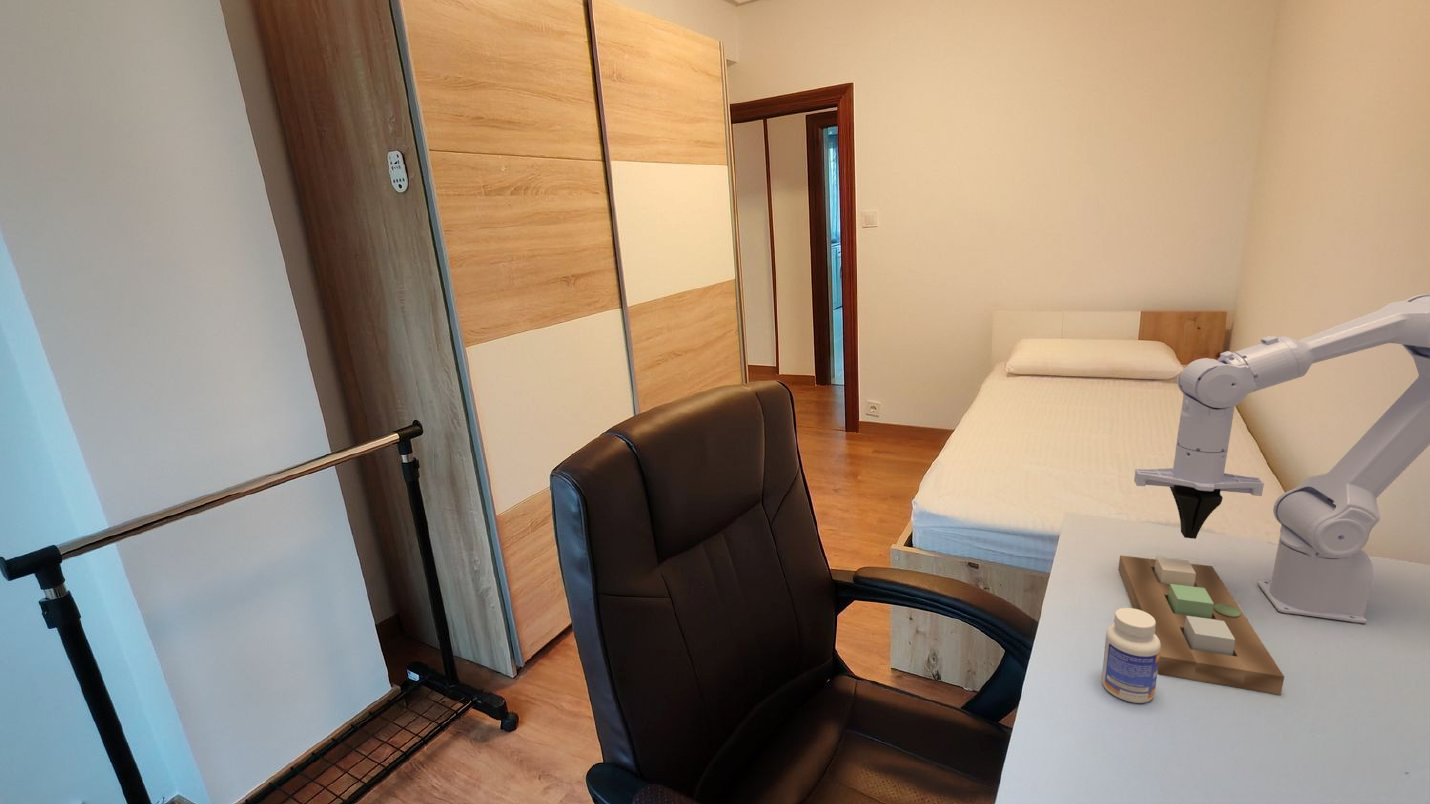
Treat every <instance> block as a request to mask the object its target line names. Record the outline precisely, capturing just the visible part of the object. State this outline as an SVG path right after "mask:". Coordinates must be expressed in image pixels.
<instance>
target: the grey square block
mask: <svg viewBox="0 0 1430 804" xmlns="http://www.w3.org/2000/svg"><path fill="white" fill-rule="evenodd" d="M1183 635H1184V637H1185V639H1186V641H1187V644H1188V646H1189V648H1190V649H1192V650H1199V651H1205V652H1211V653H1218V654H1224V655H1230V656H1232V655H1233V650H1234V644H1235V638H1234V637H1233V635H1232V633H1231V632H1230V630H1229V628H1228V627H1227V625H1226V623H1225V622H1224V621H1220V620H1213V619H1206V618H1199V617H1192V616H1186V620H1185V626H1184V633H1183Z"/></svg>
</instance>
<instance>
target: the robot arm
mask: <svg viewBox="0 0 1430 804" xmlns="http://www.w3.org/2000/svg"><path fill="white" fill-rule="evenodd" d="M1260 342H1261V343H1258V344H1255V345H1250V346H1248V347H1246V348H1242V349H1240V350H1236V351H1234V352H1232V351H1229V350H1227V351H1223V352H1220V353H1219V354H1220V355H1219V357H1218V358H1217V359H1215V358H1209V357H1202V358H1199V359H1195V360H1193V361H1191V362H1190V363H1188V364H1187V366H1186V367H1184V368H1183V370H1182V371H1181V373H1180V375H1177V376H1176V385H1177V387H1178V389H1179V390H1180V392H1181V393H1182V395H1183V396H1182V405H1181V411H1180V414H1179V415H1180V416H1179V423H1178V431H1177V439H1176V446H1175V455H1174V460H1173V461H1174V462H1173V466H1172V467H1173V468H1171V467H1170V468H1169V467H1168V468H1152V469H1150V468H1149V469H1145V468H1144V469H1143V468H1135V471H1134V479H1133V482H1134V483H1135V485H1136V486H1137V487H1145V486H1152V487H1153V486H1155V487H1167V488H1168V487H1169V488H1170V491H1171V493H1172V495H1173V498H1174V501H1175V504H1176V508H1177V511H1178V516H1179V520H1180V521H1179V522H1180V533H1181V534H1182V536H1183V538H1186V539H1193V540H1196V539H1197V537H1198V535H1199V533H1200V530H1201V528H1202V527H1203V525H1204V524H1205V522H1206V520H1207V519H1208V518H1209V516H1210V515H1211V514H1212V513H1213V512H1214V511H1215V510H1216V509H1217V508H1218V507H1219V506H1220V505H1222V501H1223V496H1222V495H1221V492H1230V493H1240V494H1242V493H1243V494H1251V496H1256V497H1262V496H1263V491H1264V487H1265V486H1264V485H1265V483H1264V482H1263V481H1262V480H1261V479H1260V478H1259V477H1254V476H1253V477H1251V476H1245V475H1243V476H1242V475H1238V474H1231V473H1226V472H1225V471H1226V470H1225V469H1226V463H1227V457H1228V449H1229V444H1230V439H1231V434H1232V433H1231V431H1232V427H1233V419H1234V412H1235V407H1236V406H1237V405H1239V404H1240V403H1241V402H1242V401H1243V400H1245V398H1246V397H1247V395H1249V394H1251V393H1255V392H1257V391H1261V390H1263V389H1267V388H1270V387H1273V386H1277V385H1280V384H1283V383H1286V382H1289V381H1293V380H1296V379H1299V378H1302V377H1304V376H1305V375H1306V374H1307V373H1308V371H1309V369H1310V367H1312V365H1313V364H1317V363H1321V362H1324V361H1327V360H1331V359H1334V358H1338V357H1342V356H1346V355H1348V354H1354V353H1357V352H1361V351H1364V350H1368V349H1373V348H1375V347H1376V348H1377V347H1380V346H1382V345H1386V344H1397V345H1401V346H1402V347H1403V348H1404V349H1405V350H1406V351H1407V352H1408V354H1409V355H1410V356H1411V357H1412V359H1413V361H1414V364H1415V367H1416V369H1417V370H1416V371H1417V373H1418V376H1417V378H1416V379H1415V380H1414V381H1413V383H1411V384H1410V385H1409V386H1408V388H1406V389H1405V391H1404V392H1403V393H1402V394H1401V395H1400V396H1399V397H1398V399H1396V400H1395V402H1393V404H1392V405H1390V407H1389V408H1388V409H1386V411H1385V412H1384V413H1383V414H1382V415H1381V416H1380V418H1378V419H1377V421H1376V422H1375V423H1374V424H1373V425H1371V427H1370V428H1369V429H1368V430H1367V431H1366V433H1364V434H1363V435H1362V436H1361V437H1360V439H1359V440H1357V442H1356V443H1355V444H1354V445H1353V446H1352V447H1351V448H1350V449H1349V450H1348V451H1347V452H1346V454H1344V456H1343V457H1341V459H1340V460H1339V461H1338V462H1337V463H1336V464H1335V465H1334V466H1333V467H1332V468H1331V469H1330V470H1329V471H1328V472H1327V473H1323V474H1320V475H1313V476H1309V477H1306V478H1305V479H1304V480H1303V481H1302V482H1301V483H1300V484H1299V485H1297V486H1296V487H1294V488H1292V489H1290V490H1288V491H1285V492H1284V493H1282V494H1281V495H1280V496H1279V497H1278V498H1277V499H1276V500H1275V502H1274V504H1273V509H1272V510H1273V517H1274V518H1275V519H1276V521H1277V522H1278V524H1280V525H1281V526H1280V529H1279V530H1280V531H1279V533H1280V534H1279V538H1278V539H1279V540H1278V544H1277V550H1276V554H1275V559H1274V560H1275V561H1274V564H1273V569H1272V576H1271V581H1269V580H1268V581H1266V580H1258V581H1257V584H1258V586H1259V587H1260V589H1261V590H1262V592H1263V593H1264V594H1265V595H1266V597H1267V598H1268V599H1269V601H1270V602H1271V604H1272V605H1273V606H1274V607H1275V609H1276V611H1278V612H1280V613H1286V614H1292V615H1299V616H1300V615H1302V616H1309V617H1315V618H1322V619H1329V620H1331V619H1332V620H1339V621H1345V622H1353V623H1359V624H1366V623H1367V620H1368V619H1366V617H1365V613H1366V609H1367V605H1368V601H1369V596H1370V592H1371V588H1372V583H1373V579H1374V572H1373V571H1374V570H1373V569H1374V568H1373V562H1371V559H1370V556H1369V555H1368V553H1366V552H1365V551H1364V550H1362V549H1363V548H1364V547H1365V546H1366V545H1367V543H1368V541H1369V538H1370V535H1371V532H1372V530H1373V528H1374V527H1375V526H1376V525H1377V524H1378V523H1379V522H1380V520H1381V515H1380V511H1379V506H1378V503H1377V498H1379V496H1380V495H1381V494H1383V492H1384V491H1385V490H1387V489H1388V487H1389V486H1390V485H1392V483H1393V482H1394V481H1396V479H1398V477H1400V475H1402V473H1403V472H1404V471H1405V470H1406V469H1407V468H1409V466H1410V465H1411V464H1412V463H1414V461H1415V460H1417V458H1418V457H1419V456H1420V455H1421V454H1422V453H1423V452H1424V451H1426V449H1427V448H1428V447H1430V294H1429V293H1428V294H1427V293H1426V294H1425V293H1423V294H1418V295H1414V296H1411V297H1409V298H1407V299H1404V300H1398V301H1394V302H1389V303H1387V304H1386V305H1384V306H1383V307H1381V308H1380V309H1377V310H1375V311H1373V312H1370V313H1367V314H1365V315H1362V316H1360V317H1357V318H1354V319H1352V320H1351V319H1350V320H1348V321H1347V322H1343V323H1341V324H1338V325H1336V326H1332V327H1330V328H1328V329H1324V330H1322V331H1318V332H1316V333H1314V334H1311V335H1309V336H1306V337H1304V338H1301V339H1299V340H1298V339H1296V338H1295V339H1294V338H1292V337H1289V336H1286V335H1285V336H1284V335H1282V336H1279V337H1277V336H1276V335H1275V336H1274V335H1272V334H1271V335H1267V336H1265V337H1261V338H1260Z"/></svg>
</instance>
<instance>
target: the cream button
mask: <svg viewBox="0 0 1430 804" xmlns="http://www.w3.org/2000/svg"><path fill="white" fill-rule="evenodd" d="M1155 559H1156V561H1155V569H1154V574H1155V576H1156V579H1157V581H1158V583H1164V584H1176V585H1184V586H1192V587H1194V583H1195V577H1196V573H1195V571H1194V569H1193V568H1192V566H1191V564H1192V563H1191V562H1190V561H1189V559H1181V558H1173V557H1164V556H1155Z"/></svg>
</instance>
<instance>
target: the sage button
mask: <svg viewBox="0 0 1430 804" xmlns="http://www.w3.org/2000/svg"><path fill="white" fill-rule="evenodd" d="M1167 602H1168V604H1169V606H1170V608H1171V610H1172V612H1173V613H1175V614H1182V615H1189V616H1196V617H1203V618H1210V619H1212V613H1213V607H1214V603H1213V601H1212V600H1211V598H1210V596H1209V595H1208V593H1207V591H1206V590H1205V588H1200V587H1192V586H1184V585H1176V584H1170V587H1169V594H1168V601H1167Z"/></svg>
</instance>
